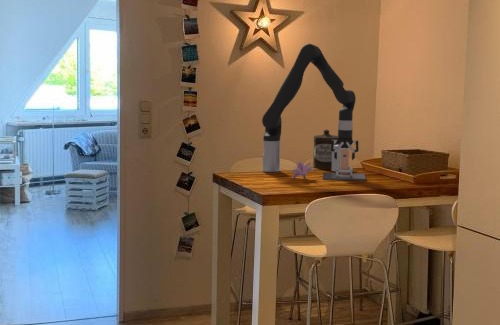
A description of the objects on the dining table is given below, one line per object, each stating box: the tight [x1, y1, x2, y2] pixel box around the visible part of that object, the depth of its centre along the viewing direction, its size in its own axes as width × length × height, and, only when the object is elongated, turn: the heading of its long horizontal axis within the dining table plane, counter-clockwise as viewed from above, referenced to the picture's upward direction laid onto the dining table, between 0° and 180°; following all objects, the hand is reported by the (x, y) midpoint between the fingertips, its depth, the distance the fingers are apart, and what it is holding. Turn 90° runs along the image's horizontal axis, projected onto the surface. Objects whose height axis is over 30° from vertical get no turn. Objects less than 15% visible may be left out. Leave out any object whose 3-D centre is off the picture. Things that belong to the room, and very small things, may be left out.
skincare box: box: [331, 145, 350, 173], centre depth 345 cm, size 8×6×15 cm
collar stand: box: [322, 166, 367, 182], centre depth 325 cm, size 22×16×5 cm
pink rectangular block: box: [340, 148, 350, 175], centre depth 324 cm, size 6×4×14 cm, turn 173°
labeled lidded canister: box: [312, 129, 338, 170], centre depth 359 cm, size 15×15×22 cm
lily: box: [290, 161, 315, 181], centre depth 319 cm, size 12×12×10 cm
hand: (344, 159), depth 324 cm, fingers open, 8 cm apart
